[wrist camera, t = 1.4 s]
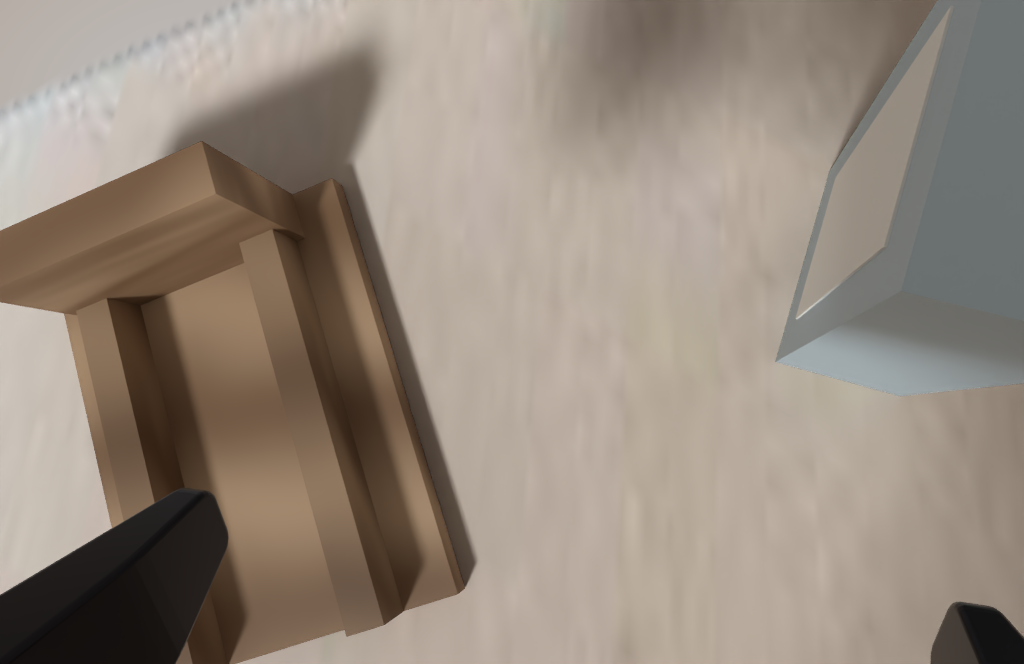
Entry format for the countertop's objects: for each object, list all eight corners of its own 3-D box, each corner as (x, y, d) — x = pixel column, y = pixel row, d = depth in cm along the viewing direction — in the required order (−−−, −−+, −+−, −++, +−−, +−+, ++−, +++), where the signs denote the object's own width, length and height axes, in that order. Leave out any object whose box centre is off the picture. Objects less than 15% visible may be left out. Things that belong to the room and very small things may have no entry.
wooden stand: (464, 588, 23) (398, 642, 18) (164, 682, 25) (16, 759, 19) (342, 185, 26) (249, 119, 20) (77, 296, 27) (-77, 265, 22)
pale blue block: (901, 396, 21) (1207, 365, 9) (773, 361, 22) (896, 290, 10) (956, 197, 22) (1323, -88, 9) (828, 170, 22) (1011, -125, 10)
